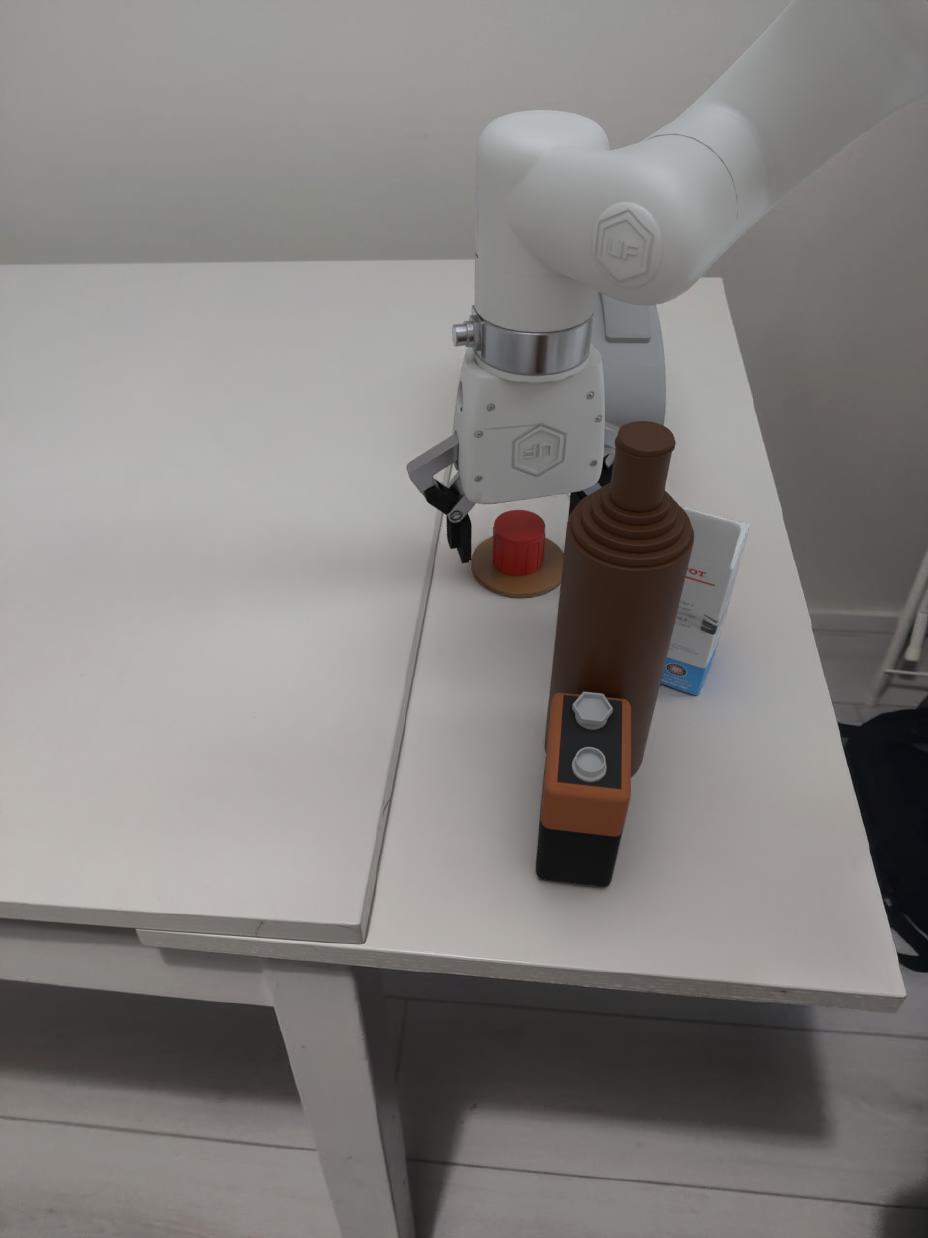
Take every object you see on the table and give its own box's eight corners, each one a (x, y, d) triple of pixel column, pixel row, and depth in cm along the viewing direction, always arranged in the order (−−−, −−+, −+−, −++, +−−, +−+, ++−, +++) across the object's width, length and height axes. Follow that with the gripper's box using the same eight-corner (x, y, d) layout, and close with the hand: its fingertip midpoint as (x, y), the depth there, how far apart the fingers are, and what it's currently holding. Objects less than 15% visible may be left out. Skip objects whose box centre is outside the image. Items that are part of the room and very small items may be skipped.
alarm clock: (567, 364, 93) (578, 242, 85) (625, 365, 93) (642, 243, 84) (580, 492, 77) (596, 358, 68) (651, 494, 77) (676, 359, 68)
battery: (612, 792, 54) (634, 685, 47) (610, 892, 49) (634, 789, 42) (542, 784, 55) (553, 677, 48) (533, 882, 50) (544, 779, 43)
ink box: (717, 651, 63) (766, 482, 53) (698, 698, 60) (746, 528, 50) (605, 614, 66) (631, 447, 56) (581, 658, 63) (604, 488, 52)
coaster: (586, 567, 70) (586, 562, 69) (519, 612, 66) (520, 607, 66) (517, 524, 74) (518, 519, 73) (451, 564, 70) (451, 559, 70)
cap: (539, 543, 71) (541, 508, 69) (545, 575, 68) (548, 540, 66) (490, 545, 71) (491, 510, 68) (494, 577, 68) (496, 542, 66)
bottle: (663, 749, 57) (744, 436, 40) (599, 806, 54) (658, 493, 37) (588, 694, 60) (635, 385, 44) (523, 746, 57) (548, 433, 41)
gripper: (410, 377, 52) (420, 591, 64) (681, 346, 55) (643, 557, 67) (389, 322, 57) (402, 529, 69) (638, 296, 60) (609, 499, 72)
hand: (520, 542), depth 68 cm, fingers open, 9 cm apart
